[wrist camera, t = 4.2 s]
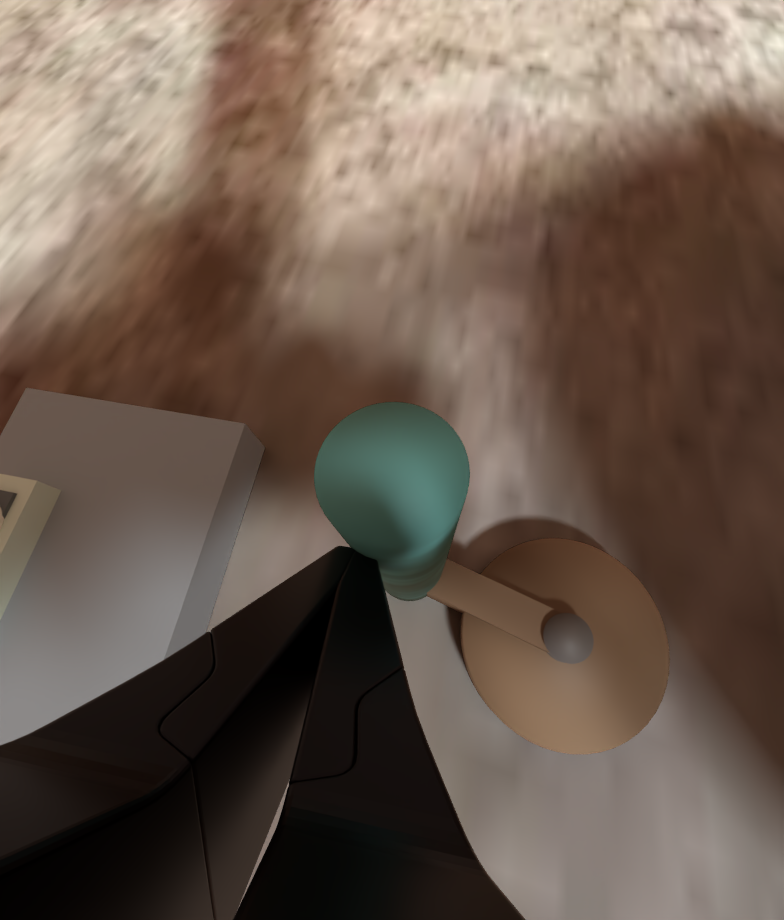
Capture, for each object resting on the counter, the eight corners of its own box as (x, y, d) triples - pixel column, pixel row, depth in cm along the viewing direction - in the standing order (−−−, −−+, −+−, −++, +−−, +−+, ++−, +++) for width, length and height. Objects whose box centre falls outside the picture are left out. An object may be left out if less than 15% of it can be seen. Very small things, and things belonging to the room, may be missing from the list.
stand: (147, 814, 16) (39, 884, 11) (-96, 744, 17) (-278, 782, 13) (265, 447, 21) (221, 395, 16) (68, 413, 22) (-23, 357, 17)
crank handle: (584, 795, 15) (961, 1169, 5) (352, 583, 18) (254, 509, 8) (689, 627, 17) (1147, 613, 6) (461, 457, 20) (507, 249, 9)
